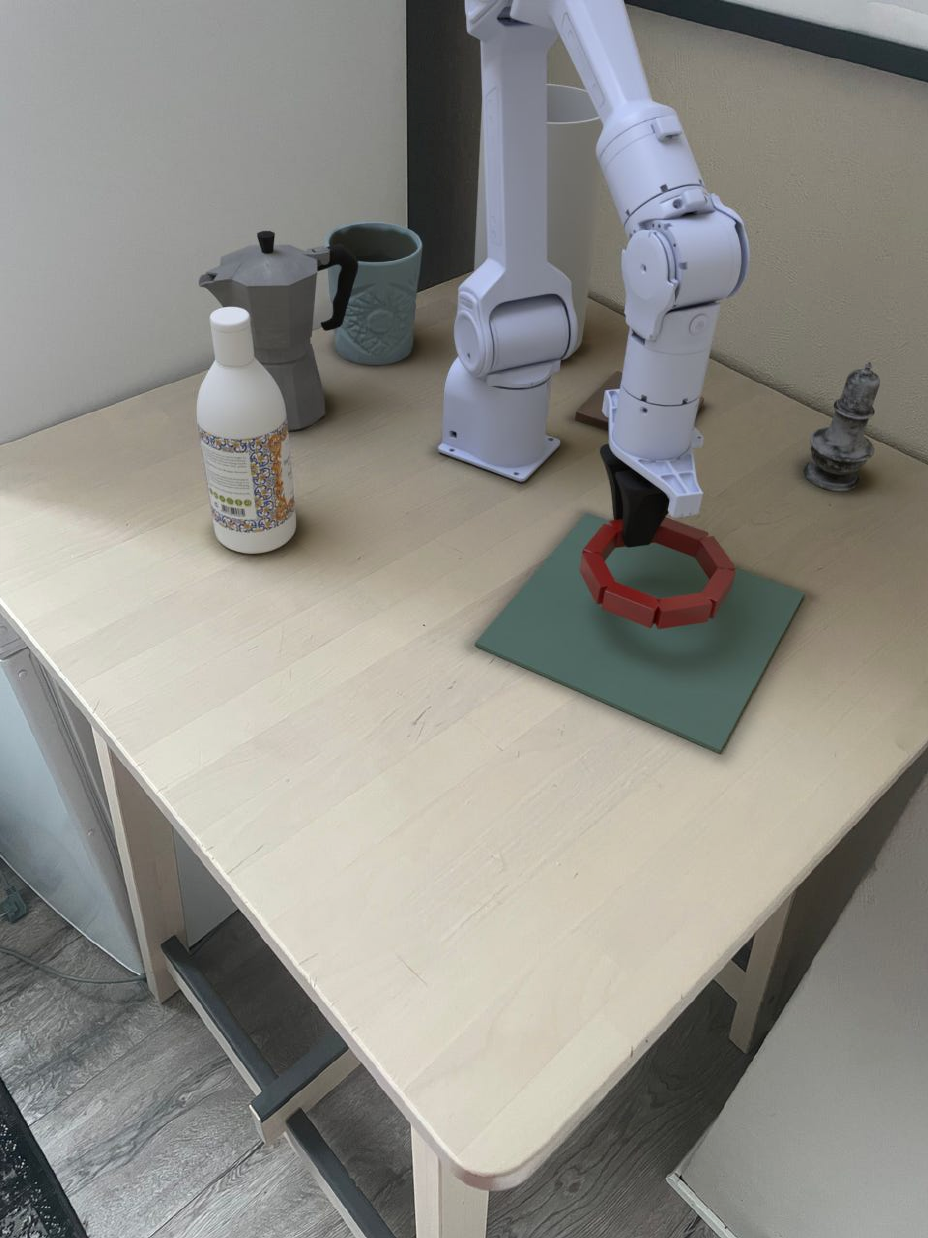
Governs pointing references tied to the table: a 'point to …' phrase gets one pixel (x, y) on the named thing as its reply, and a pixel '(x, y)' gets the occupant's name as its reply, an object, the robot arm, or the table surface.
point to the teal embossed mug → (377, 291)
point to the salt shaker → (845, 435)
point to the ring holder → (594, 405)
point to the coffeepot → (284, 312)
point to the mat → (645, 637)
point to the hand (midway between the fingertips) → (632, 536)
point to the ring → (649, 607)
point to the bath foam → (244, 442)
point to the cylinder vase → (563, 191)
